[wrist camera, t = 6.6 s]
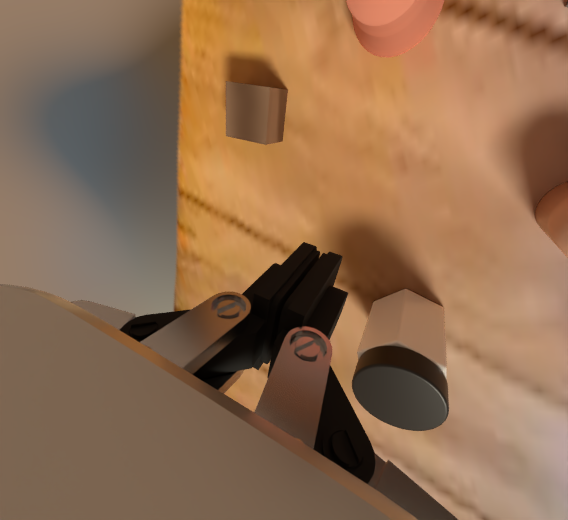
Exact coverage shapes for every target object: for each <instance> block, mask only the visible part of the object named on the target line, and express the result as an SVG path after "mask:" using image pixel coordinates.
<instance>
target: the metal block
mask: <svg viewBox="0 0 568 520" xmlns="http://www.w3.org/2000/svg"><path fill="white" fill-rule="evenodd" d="M287 93H288V90H286V89H278V88H271V87H264V86H257V85H250V84H242V83H235V82H228V81H226V136H228V137H233V138H237V139H242V140H247V141H251V142H256V143H260V144H265V145H267V144H271V143H276V142H281V141H282V140H283V131H284V121H285V112H286V102H287Z"/></svg>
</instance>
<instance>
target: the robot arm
mask: <svg viewBox="0 0 568 520" xmlns="http://www.w3.org/2000/svg"><path fill="white" fill-rule="evenodd" d="M319 255H320V251H317V247H316V246H313V245H311V244H308V243H305V242H303V243H302V244H301V245H300V246H299V247H298V248H297V249H296V250H295V251H294V252H293V253H292V254H291V256H290V257H289V258H288V259H287V260H286V261H285V262H284V263H283V264H282V265H279V264H276V263H275V264H273V265H272V266H271V267H270V268H269V269H268V270H267V271H266V272H265V273H263V274H262V275H261V276H260V277H259V278H258V279H257V280H256V281H255V282H254V283H253V284H252V285H251V286H250V287H249V288H248V289H247V290H246V291H245V292H244V293H243V294H239V293H236V292H222V293H218V294H216V295H214V296H212V297H210V298H209V299H207V300H206V301H204V302H203V303H201V304H199V305H198V306H196V307H195V308H193V309H191V310H184V311H175V312H167V313H158V314H150V315H144V316H139V317H135V314H132V313H129V312H126V311H122V310H118V309H115V308H111V307H108V306H104V305H101V304H97V303H94V302H90V301H83V300H80V301H73V302H69V301H67V300H65V299H63V298H61V297H58V296H55V295H53V294H50V293H47V292H44V291H40V290H36V289H32V288H28V287H22V286H14V285H3V284H0V520H458V519H457V518H456V517H455V516H453V515H452V514H451V513H450V512H449V511H448V510H446V509H445V508H444V507H443V506H442V505H441V504H439V503H438V502H437V501H436V500H435V499H434V498H432V497H431V496H430V495H429V494H428V493H427V492H425V491H424V490H423V489H422V488H421V487H420V486H418V485H417V484H416V483H415V482H414V481H413V480H411V479H410V478H409V477H408V476H407V475H406V474H404V473H403V472H402V471H401V470H400V469H399V468H397V467H396V466H395V465H394V464H393V463H392V462H390V461H389V460H388V461H387V462H385V461H383V460H382V459H381V458H380V457H379V456H378V455H377V454H375V453H374V450H373V448H372V445H371V443H370V440H369V438H368V437H367V435H366V433H365V431H364V429H363V427H362V425H361V423H360V421H359V419H358V417H357V416H356V414H355V412H354V410H353V408H352V406H351V404H350V402H349V400H348V398H347V396H346V394H345V393H344V391H343V389H342V387H341V385H340V383H339V381H338V379H337V377H336V375H335V373H334V371H333V370H332V368H331V366H330V362H331V357H332V346H331V343H330V341H329V340H330V337H331V335H332V333H333V331H334V328H335V326H336V324H337V322H338V319H339V317H340V314H341V312H342V309H343V306H344V304H345V301H346V298H347V295H348V292H345V291H343V290H340V289H338V288H335V287H333V285H334V282H335V279H336V276H337V273H338V270H339V267H340V264H341V261H342V256H341V255H338V254H335V253H332V252H329V253H328V254H325V253H323V254H322V255H321V256H320V258H319ZM270 360H271V362H270ZM263 362H264V363H265V364H268V363H269V362H270V367H269V372H268V380H267V383H266V385H265V388H264V390H263V393H262V395H261V398H260V400H259V402H258V405H257V407H256V410H255V412H252V411H251V410H249V409H247V408H246V407H244V406H242V405H241V404H239V403H238V402H236V401H234V400H233V399H231V398H229V397H228V396H226V395H225V394H224V393H225V392H226V391H227V390H228V389H229V388H230V387H231V386H232V385H233V384H234V383H235V382H236V381H237V379H238V378H239V377H240V376H241V375H242V373H243V371H244V370H245V369H249V368H252V367H254V368H256V369H257V370H259V368H260V367H261V365H262V364H263Z"/></svg>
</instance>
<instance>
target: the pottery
mask: <svg viewBox="0 0 568 520" xmlns="http://www.w3.org/2000/svg"><path fill="white" fill-rule="evenodd" d="M346 2H347V5H348V8H349V10H350V11H351V13H352V15H353V24H354V30H355V33H356V36H357V38H358V40H359V42H360V43H361V45H362V46H363V47H364V48H365V49H366V50H367V51H368V52H370V53H372V54H373V55H376V56H379V57H393V56H398V55H400V54H403V53H405V52H407V51H408V50H410V49H412V48H413V47H415V46H416V45H417V44H418V43H419V42H420V41H421V40H422V39H423V38H424V37H425V36H426V35H427V34H428V32H429V31H430V30H431V28H432V27H433V25H434V24H435V22H436V20H437V18H438V16H439V14H440V12H441V9H442V6H443V3H444V0H346Z"/></svg>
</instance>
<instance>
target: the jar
mask: <svg viewBox="0 0 568 520" xmlns="http://www.w3.org/2000/svg"><path fill="white" fill-rule="evenodd" d="M357 354H358V363H357V366H356V370H355V373H354V376H353V380H352V389H353V392H354V395H355V397H356V399H357V400H358V402H359V403H360V404H361V405H362V406H363V408H365V409H366V410H367V411H368V412H369V413H370V414H372V415H373V416H374V417H376V418H378V419H379V420H381V421H383V422H385V423H387V424H389V425H392V426H395V427H398V428H401V429H406V430H413V431H424V430H430V429H434V428H436V427H438V426H440V425H441V424H442V423H443V422H444V421H445V420H446V418H447V416H448V412H449V402H448V384H447V381H446V375H447V361H446V340H445V320H444V308H443V307H442V306H440V305H438V304H436V303H434V302H432V301H430V300H428V299H426V298H424V297H422V296H420V295H418V294H416V293H414V292H412V291H410V290H408V289H403V290H401V291H398V292H396V293H393V294H391V295H388V296H386V297H383V298H381V299H378V300H376V301H374V302H373V304H372V307H371V310H370V314H369V317H368V320H367V323H366V326H365V329H364V332H363V335H362V339H361V342H360V345H359V348H358V351H357Z"/></svg>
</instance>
